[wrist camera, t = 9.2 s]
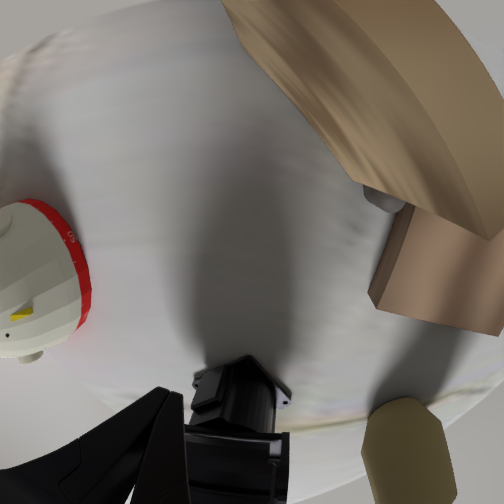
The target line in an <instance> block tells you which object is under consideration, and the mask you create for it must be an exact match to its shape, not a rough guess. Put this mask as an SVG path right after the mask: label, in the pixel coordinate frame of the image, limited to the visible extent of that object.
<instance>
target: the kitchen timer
mask: <svg viewBox="0 0 504 504" xmlns="http://www.w3.org/2000/svg"><path fill="white" fill-rule="evenodd" d="M91 291H92V288H91V282H90V276H89V270H88V266H87V263H86V260H85V258H84V255H83V252H82V249H81V246H80V244H79V242H78V241H77V239H76V237H75V235H74V233H73V232H72V230H71V228H70V226H69V225H68V224H67V223H66V221H65V220H64V219H63V218H62V217H61V216H60V215H59V213H58V212H57V211H56V210H55V209H53V208H52V207H50V206H49V205H47V204H46V203H44V202H43V201H39V200H34V199H26V200H22V201H19V202H15V203H12V204H9V205H6V206H4V207H2V208H0V357H1V358H14V357H18V358H19V361H20V363H21V364H29V363H32V362H34V361H36V360H38V359H39V358H40V357H41V356H42V354H43V350H45V349H47V348H50V347H53V346H55V345H57V344H59V343H61V342H63V341H64V340H66V339H67V338H68V337H69V336H70V335H71V334H73V333H74V332H75V331H76V330H77V329H78V328H79V327H80V326H81V325H82V324H83V323H84V322H85V321H86V318H87V315H88V313H89V310H90V307H91Z"/></svg>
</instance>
